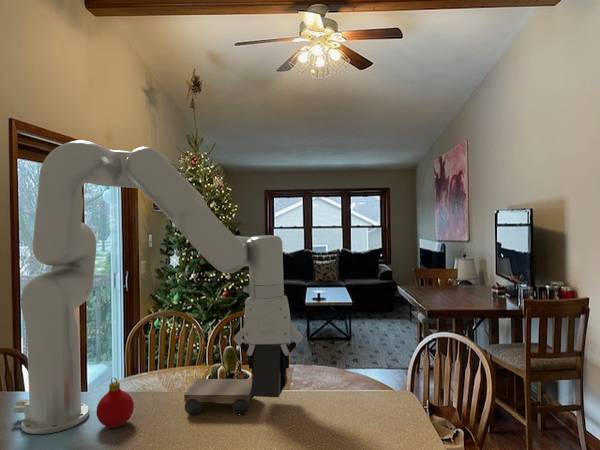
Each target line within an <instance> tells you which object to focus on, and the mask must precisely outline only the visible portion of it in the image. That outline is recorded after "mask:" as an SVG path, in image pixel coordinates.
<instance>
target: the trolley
mask: <svg viewBox="0 0 600 450" xmlns="http://www.w3.org/2000/svg"><path fill="white" fill-rule="evenodd" d="M251 390H252V378H196V379H195V380H194V381H193V383H192V385H191V386H190V387H189V388H188V389H187V390H186V392H184V393H185V394H184V396H183V400H184V403H185V404H184V410H185V412H186V413H187V415H190V416H197V415H198V414H199V413H201V411H202V409H203V406H204V403H209V402H210V403H232V406H231V407H232V411H233V413H234V414H236V415H237V416H240V415H242V416H245V415H246V414H247V413H248V412H249V411H250V407H251V400H252V399H254V398H255V396H251ZM239 414H240V415H239Z"/></svg>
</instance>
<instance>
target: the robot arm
mask: <svg viewBox="0 0 600 450" xmlns="http://www.w3.org/2000/svg"><path fill="white" fill-rule="evenodd" d="M85 184H90V185H96V186H101V187H115V188H116V187H117V188H131V189H139V190H140V191H141V192H142V193H143V194H144V195H145V196H146V197H147V198H148V199H149V200H150V201H151V202H152V203H153V204H154V205H155V206H156V207H157V208H158V209H159V210H160V211H161V212H162V213H163V214H164V215H165V216H166V217H167V218H168V219H169V220H170V221H171V223H172V225H174V226H175V228H176V229H177V230H178V231H179V232H180V233H181V234H182V236H184V238H185V239H186V240H187V241H188V242H189V243H190V245H191V246H192V247H193V248H194V249H196V251H197V252H199V254H200V255H201V256H203V258H204V259H205V260H206V261H207V262H208V263H209V264H210V265H212V267H214V269H216V270H217V271H219V272H222V273H225V274H234V273H236V272H238V271H240V270H241V269H242V268H243V267H248V277H249V284H248V285H245V286H243V287H242V288H243V289H242V292H243V293H246V294H248V296H249V297H247V298H246V300H245V303H244V304H245V305H244V315H243V316H244V317H243V318H244V321H243V327H242V328H241V329H240V330H239V331H238V332H237V333H236V334H235V335H234V337H233V338H232V339H233V341H234V342H235V343H236V344H237V345H238V346H239V347H240V349H242V350H243V351H244V352H245V353H246V356H248V368H249V369H251V374H252V375H253V359H254V348H255V345H280V346H281V348H282V350H283V354H282V373H283V374H286V373H287V369H290V354H291V352H292V351H293V350H294V349H296V348H297V346H298V345H299V344H300V343H301V342H302V341H303V339H304V335H303V334H302V333H301V332H300V331H299V330H298V329H297V328H296V327H295V326H294V325H293V324H292V323H291V321H292V320H291V313H290V304H289V300H288V296H287V295H285V292H284V291H285V287H284V284H285V283H284V255H283V252H284V251H283V250H284V249H283V240H282V238H281V237H280V235H279V236H278V235H271V234H269V235H266V234H265V235H255V236H242V235H234V233H233V232H232V231H231V230H230V229H228V227H226V225H225V224H224V223H223V222H221V220H220V219H219V218H218V217H217V215H216V214H214V212H213V211H212V210H211V208H209V206H208V205H207V203H206V200H205V198H204V197H203V196H202V194H201V193H200V192H199V191H198V189H196V188H195V187H194V186H193V185H192V184H191V183H190V182H189V181H188V180H187V179H186V178H185V177H184V176H183V175H182V174H181V173H180V172H179V171H178V170H177V169H176V167H174V166H173V164H172V163H171V161H170V159H169V158H168V157H167V156H166V155H164V154H163V153H161V152H160V151H159V150H157V149H155V148H153V147H149V146H141V147H138V148H135V149H133V150H132V151H125V150H116V149H115V150H114V149H113V150H112V149H108V148H106V147H104V146H102V145H101V144H98V143H96V142H91V141H88V140H87V141H86V140H74V141H69V142H65V143H63V144H61V145H59V146H57V147H55V148H54V149H52V150H51V151H50V152H49V153H48V155H47V156H46V157H45V159H44V160H43V162H42V165H41V167H40V171H39V177H38V187H37V188H38V190H37V191H38V192H37V201H36V209H35V217H34V219H35V220H34V229H33V230H34V231H33V239H32V252H33V255H34V257H35V259H36V260H37V261H38V262H39V263H41V264H43V265H46V266H48V267H51V268H50V271H47V272H44V273H40V274H39V275H36V276H34V278H32V279H30V280H29V281H28V282H27V283H26V284H25V286H24V287H23V290H22V291H21V295H20V307H21V312H22V317H23V322H24V326H25V336H26V351H27V373H28V374H27V377H28V399H27V398H26V399H23V398H22V399H18V400H16V402H15V406H14V407H13V410H12V411H13V413H14V414H22V413H23V414H24V418H23V419H22V420H21V423H20V424H21V425H20V426H21V427H20V428H21V430H22V431H23V432H25V433H27V434H31V435H45V434H51V433H52V434H53V433H57V432H61V431H65V430H68V429H70V428H73V427H75V426H77V425H79V424H81V423H83V422H84V421H85V420H86V419H87V418H88V417H89V415H90V408H89V405H87V404H85V403H82V398H81V397H82V393H81V369H80V367H81V365H80V364H81V363H80V341H79V340H80V339H79V338H80V337H79V330H78V323H77V320H76V316H75V313H74V312H75V311H74V309H76V308H78V307H80V306H81V305H83V304H84V303H85V302H86V301H87V300H88V299H89V297H90V295H91V293H92V290H93V286H94V279H95V278H94V277H95V266H96V257H97V256H96V255H97V239H96V235H95V233H94V230H93V229H92V228H91V227H90V226H89V225H87V224H86V223H84V222H82V220H83V219H82V217H83V208H84V198H83V191H82V190H83V186H84V185H85ZM291 335H292V336H293V337H294V338H293V340H292V341H291ZM290 341H291V342H290ZM289 342H290V343H289Z"/></svg>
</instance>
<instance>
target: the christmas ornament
mask: <svg viewBox="0 0 600 450" xmlns="http://www.w3.org/2000/svg"><path fill="white" fill-rule="evenodd" d="M113 379H114V380H115V381H114V382H113ZM120 386H121V385H120V382H118V380H117V378H116V377H112V378H111V379H110V383H109V384H108V388H109V389H108V392H107V393H105V394H104V395H103V396H102V397H101V398H100V400H99V401H98V404H97V406H96V417H97V420H98V422H100V424H102V425H103V426H105V427H107V428H118V427H121V426H123V425H124V424H126V423H127V422H128V421H129V420H130V419H131V417H132V415H133V412H134V408H135V404H134V400H133V397H132V396H131V395H130V394H129V393H128V392H126V391H124V390H122V389H120Z"/></svg>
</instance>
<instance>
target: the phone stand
mask: <svg viewBox="0 0 600 450" xmlns="http://www.w3.org/2000/svg"><path fill="white" fill-rule="evenodd" d="M282 354H283V350H282V348H281V346H280V345H255V348H254V359H253V374H252V375H251V376H252V378H251V379H252V390H251V396H254V397H261V398H263V397H264V398H280V396H281V394H282V392H283V390H284V389H285V387H286V385H287V384H288V375H287V372H286V374H283V373H282Z"/></svg>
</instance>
